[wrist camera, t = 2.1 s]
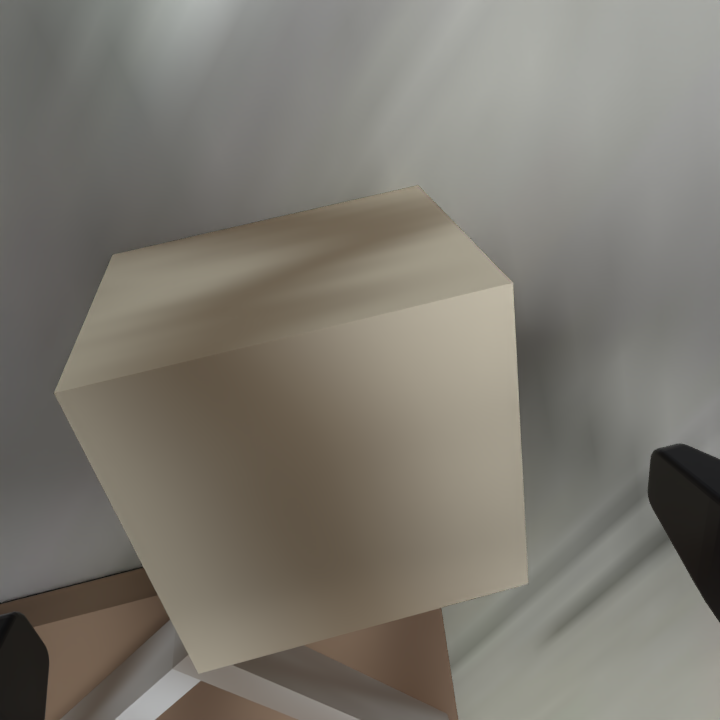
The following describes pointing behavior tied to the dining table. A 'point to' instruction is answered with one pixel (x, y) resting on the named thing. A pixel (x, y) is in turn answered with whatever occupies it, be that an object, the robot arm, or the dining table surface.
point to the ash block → (307, 422)
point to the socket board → (234, 682)
